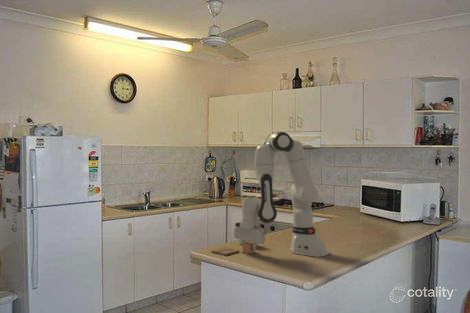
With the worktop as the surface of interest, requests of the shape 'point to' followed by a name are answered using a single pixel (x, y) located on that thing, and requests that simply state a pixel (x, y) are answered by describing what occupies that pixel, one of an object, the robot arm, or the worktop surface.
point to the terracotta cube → (248, 247)
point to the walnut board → (225, 251)
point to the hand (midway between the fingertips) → (249, 249)
